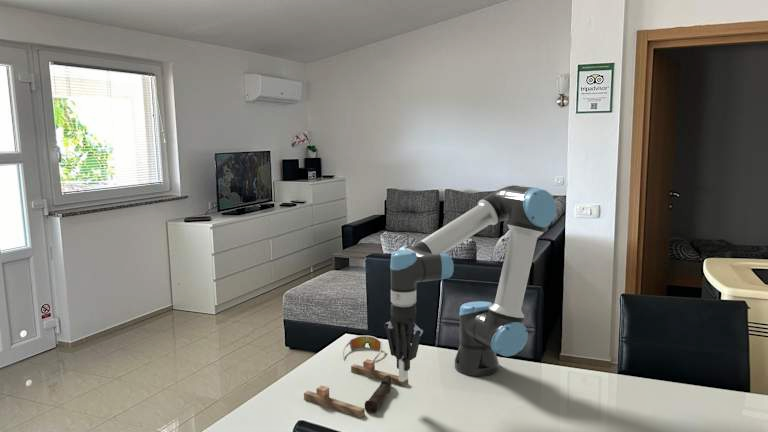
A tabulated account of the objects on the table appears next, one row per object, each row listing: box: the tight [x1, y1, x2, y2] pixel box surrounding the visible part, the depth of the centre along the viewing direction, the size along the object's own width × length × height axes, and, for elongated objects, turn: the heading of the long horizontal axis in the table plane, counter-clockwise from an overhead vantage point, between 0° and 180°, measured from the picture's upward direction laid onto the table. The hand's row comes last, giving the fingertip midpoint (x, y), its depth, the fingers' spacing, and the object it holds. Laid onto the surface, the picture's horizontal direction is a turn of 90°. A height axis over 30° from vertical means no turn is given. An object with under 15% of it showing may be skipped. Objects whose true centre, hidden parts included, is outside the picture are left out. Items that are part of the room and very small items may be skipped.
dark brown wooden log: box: [364, 375, 392, 414], centre depth 177 cm, size 19×4×5 cm, turn 159°
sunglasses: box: [342, 335, 383, 362], centre depth 213 cm, size 14×15×5 cm
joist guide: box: [303, 358, 409, 419], centre depth 182 cm, size 22×26×5 cm
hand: (403, 379), depth 171 cm, fingers closed
